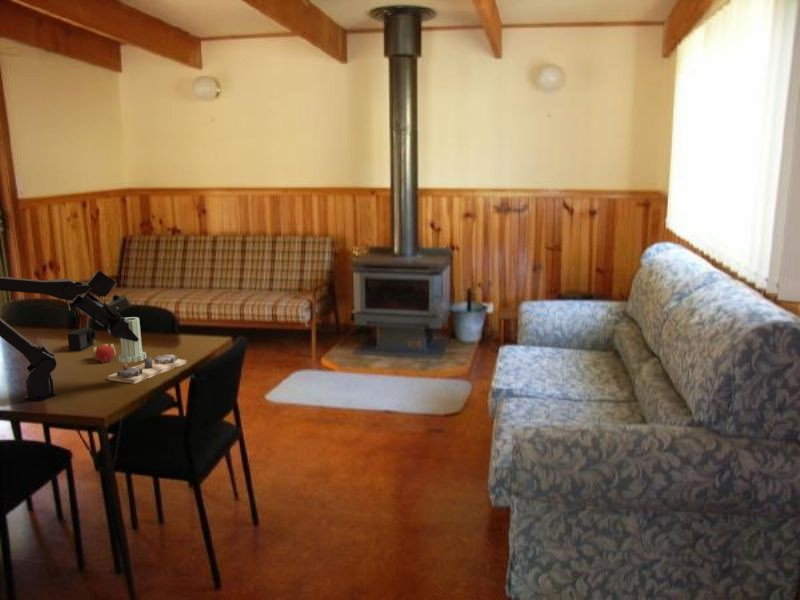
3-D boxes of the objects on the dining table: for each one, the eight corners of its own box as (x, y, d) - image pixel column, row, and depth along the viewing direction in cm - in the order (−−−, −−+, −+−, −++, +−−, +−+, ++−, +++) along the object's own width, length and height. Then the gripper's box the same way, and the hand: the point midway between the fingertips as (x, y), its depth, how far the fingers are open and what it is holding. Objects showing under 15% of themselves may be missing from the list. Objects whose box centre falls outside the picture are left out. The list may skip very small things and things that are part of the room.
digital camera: (83, 352, 251) (81, 334, 250) (69, 352, 252) (67, 333, 250) (97, 345, 262) (95, 327, 260) (83, 344, 262) (81, 327, 260)
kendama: (92, 356, 251) (91, 362, 234) (94, 339, 251) (93, 344, 234) (115, 357, 254) (115, 363, 237) (117, 341, 254) (117, 346, 237)
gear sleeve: (137, 363, 210) (133, 322, 208) (113, 362, 212) (109, 321, 209) (151, 355, 218) (147, 316, 215) (128, 354, 219) (124, 316, 217)
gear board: (134, 383, 214) (132, 369, 213) (107, 379, 218) (106, 365, 217) (186, 363, 237) (185, 350, 236) (162, 359, 241) (161, 347, 240)
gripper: (118, 293, 200) (159, 324, 208) (106, 284, 216) (145, 313, 224) (92, 322, 198) (135, 352, 206) (82, 311, 213) (122, 339, 221)
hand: (135, 338), depth 214 cm, fingers closed on gear sleeve, 6 cm apart
